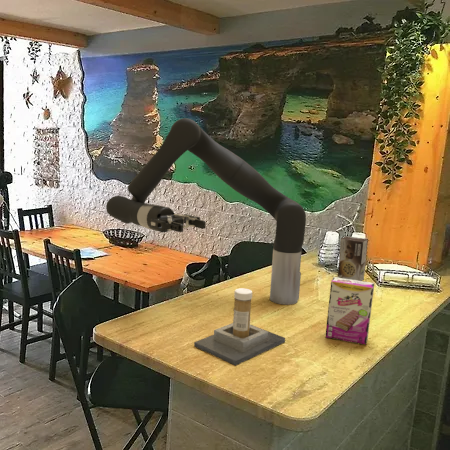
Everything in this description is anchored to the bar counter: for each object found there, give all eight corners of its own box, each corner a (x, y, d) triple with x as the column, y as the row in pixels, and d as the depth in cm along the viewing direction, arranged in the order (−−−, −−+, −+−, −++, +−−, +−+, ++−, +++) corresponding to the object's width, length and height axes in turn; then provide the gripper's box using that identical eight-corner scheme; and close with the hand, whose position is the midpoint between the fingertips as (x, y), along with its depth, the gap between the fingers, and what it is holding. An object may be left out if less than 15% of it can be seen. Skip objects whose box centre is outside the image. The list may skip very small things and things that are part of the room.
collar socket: (244, 326, 140) (245, 314, 139) (285, 342, 131) (286, 329, 130) (194, 346, 125) (194, 332, 125) (235, 365, 116) (236, 351, 116)
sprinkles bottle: (251, 338, 129) (255, 289, 127) (245, 345, 125) (248, 294, 123) (235, 334, 131) (238, 286, 128) (228, 341, 127) (231, 291, 124)
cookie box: (364, 279, 193) (368, 239, 190) (359, 283, 188) (363, 241, 185) (342, 274, 198) (345, 235, 195) (336, 278, 192) (340, 238, 189)
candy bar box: (324, 338, 135) (330, 280, 132) (327, 331, 139) (332, 276, 136) (367, 346, 131) (373, 287, 128) (368, 339, 136) (374, 282, 133)
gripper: (136, 207, 140) (174, 215, 130) (174, 203, 151) (212, 211, 140) (136, 232, 142) (173, 243, 131) (173, 227, 152) (211, 236, 141)
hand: (193, 226), depth 135 cm, fingers open, 8 cm apart
